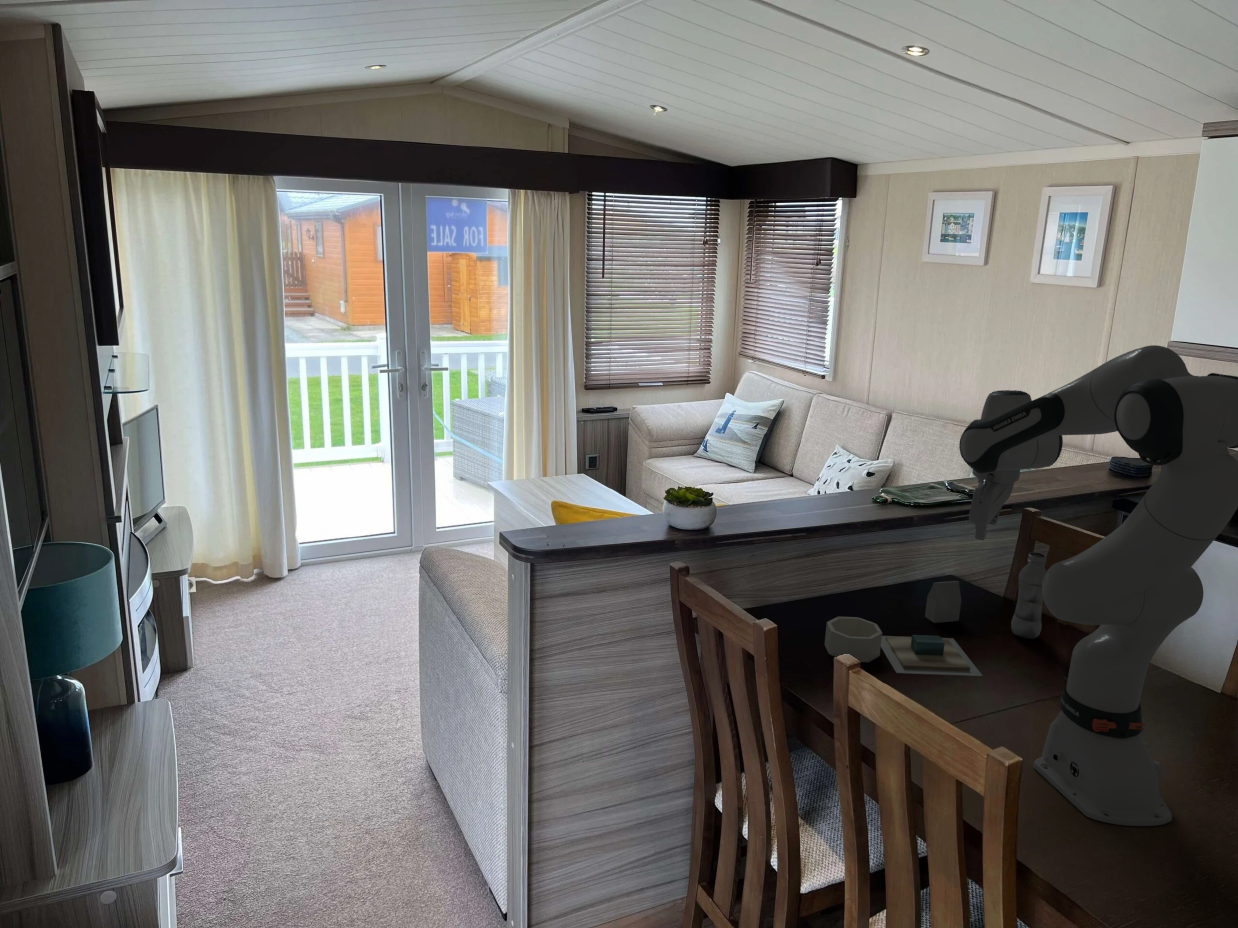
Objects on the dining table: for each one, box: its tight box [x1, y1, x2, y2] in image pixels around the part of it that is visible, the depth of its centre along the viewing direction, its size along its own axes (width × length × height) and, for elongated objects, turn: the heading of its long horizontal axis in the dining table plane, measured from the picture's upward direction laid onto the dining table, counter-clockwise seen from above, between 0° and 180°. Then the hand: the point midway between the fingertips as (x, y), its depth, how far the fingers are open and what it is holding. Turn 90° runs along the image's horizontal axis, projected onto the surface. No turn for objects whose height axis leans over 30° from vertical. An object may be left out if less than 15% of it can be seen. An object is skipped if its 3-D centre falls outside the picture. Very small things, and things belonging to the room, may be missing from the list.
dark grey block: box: [924, 580, 962, 624], centre depth 217 cm, size 4×7×10 cm, turn 105°
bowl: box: [824, 616, 883, 663], centre depth 199 cm, size 11×11×6 cm
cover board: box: [885, 634, 970, 671], centre depth 198 cm, size 14×14×4 cm
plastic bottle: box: [1010, 551, 1048, 640], centre depth 209 cm, size 6×7×20 cm
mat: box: [880, 635, 983, 677], centre depth 199 cm, size 18×18×1 cm
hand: (986, 530), depth 188 cm, fingers open, 8 cm apart
